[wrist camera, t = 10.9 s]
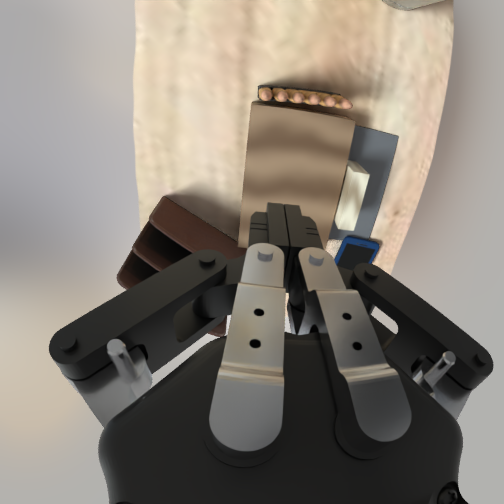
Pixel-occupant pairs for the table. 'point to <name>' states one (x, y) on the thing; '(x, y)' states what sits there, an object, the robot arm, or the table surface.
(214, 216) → the table surface
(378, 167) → the mat
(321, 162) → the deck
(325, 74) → the table surface
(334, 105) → the ammunition clip
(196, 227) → the letter holder
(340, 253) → the cell phone
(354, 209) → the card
